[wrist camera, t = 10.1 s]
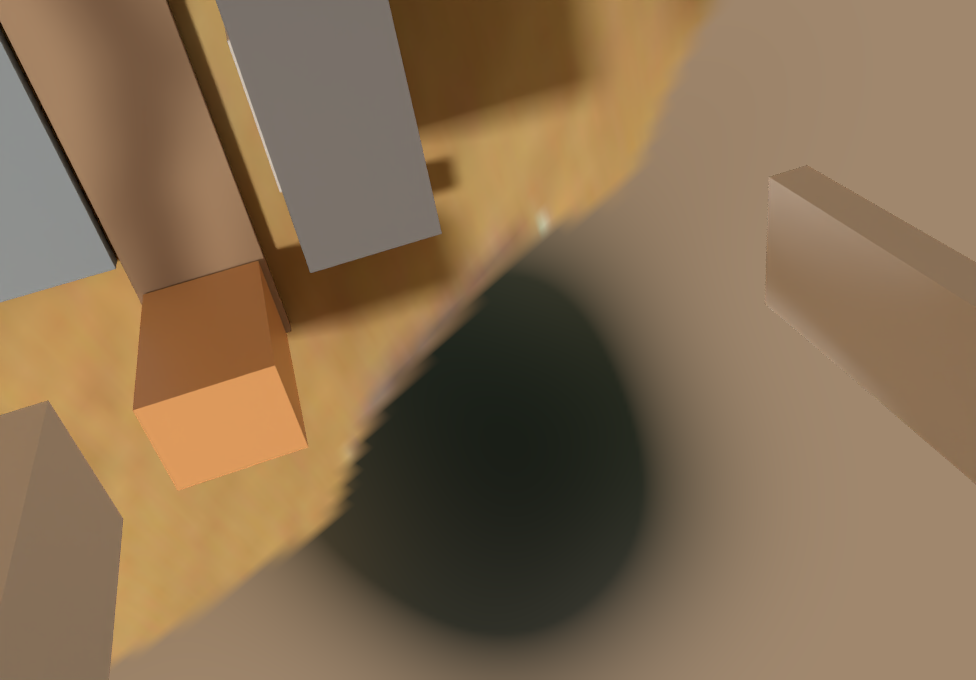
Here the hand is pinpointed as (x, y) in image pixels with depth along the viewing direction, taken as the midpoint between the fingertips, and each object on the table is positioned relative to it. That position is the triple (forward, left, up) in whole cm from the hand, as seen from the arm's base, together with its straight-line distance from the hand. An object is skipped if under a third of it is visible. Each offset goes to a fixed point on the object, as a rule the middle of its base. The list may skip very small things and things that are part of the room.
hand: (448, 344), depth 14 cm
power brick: (0, 0, -23) cm, 23 cm away
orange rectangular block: (-7, -10, -23) cm, 26 cm away
